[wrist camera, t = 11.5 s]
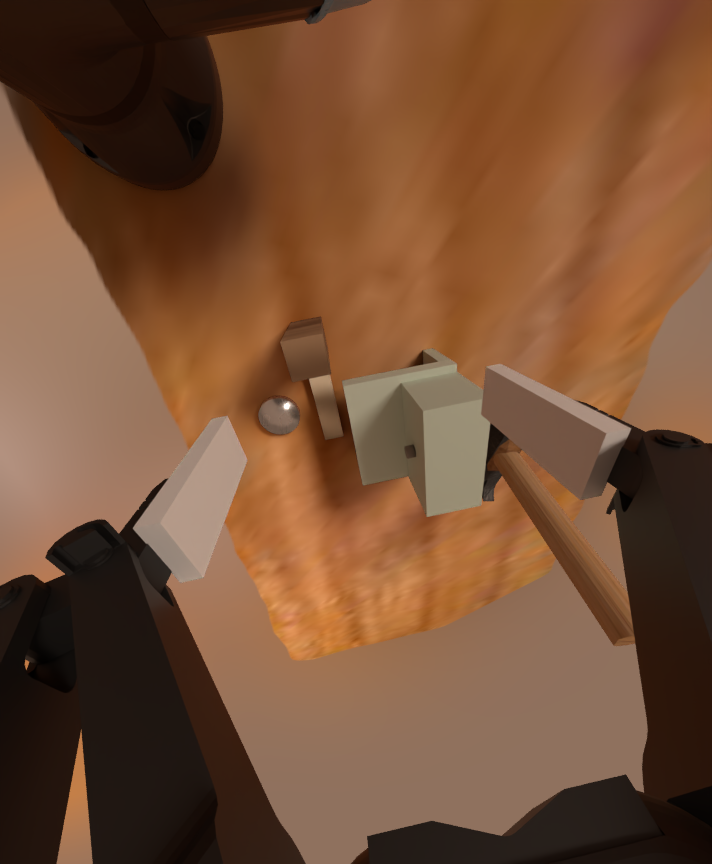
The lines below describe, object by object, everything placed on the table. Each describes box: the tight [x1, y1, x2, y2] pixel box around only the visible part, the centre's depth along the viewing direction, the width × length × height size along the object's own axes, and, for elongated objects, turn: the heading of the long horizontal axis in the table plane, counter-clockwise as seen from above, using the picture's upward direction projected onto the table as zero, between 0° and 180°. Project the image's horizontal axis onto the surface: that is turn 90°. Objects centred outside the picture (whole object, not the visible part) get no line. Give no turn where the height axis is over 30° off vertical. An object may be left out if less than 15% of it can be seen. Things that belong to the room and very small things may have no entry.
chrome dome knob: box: [258, 396, 300, 434], centre depth 41 cm, size 6×6×2 cm
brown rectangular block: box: [280, 317, 343, 440], centre depth 35 cm, size 18×4×12 cm, turn 10°
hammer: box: [482, 424, 635, 646], centre depth 39 cm, size 20×5×30 cm, turn 174°
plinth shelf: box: [342, 348, 490, 517], centre depth 36 cm, size 16×14×16 cm
